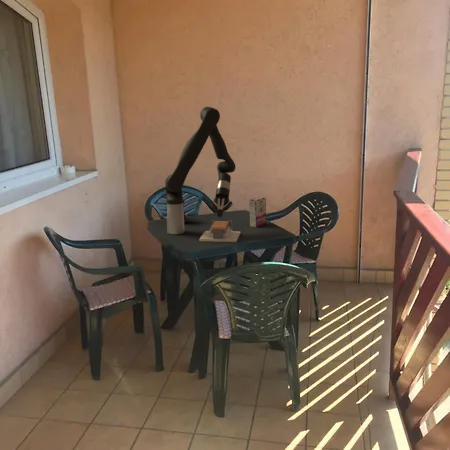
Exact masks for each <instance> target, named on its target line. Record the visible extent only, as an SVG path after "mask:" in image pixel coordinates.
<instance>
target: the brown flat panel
mask: <svg viewBox="0 0 450 450" xmlns="http://www.w3.org/2000/svg"><path fill="white" fill-rule="evenodd" d="M229 221H230V220H229ZM229 221H228V220H214V223H213V224H212V223H211V226H210V229H223V230H225V229H227V228H228V226H229Z"/></svg>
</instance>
